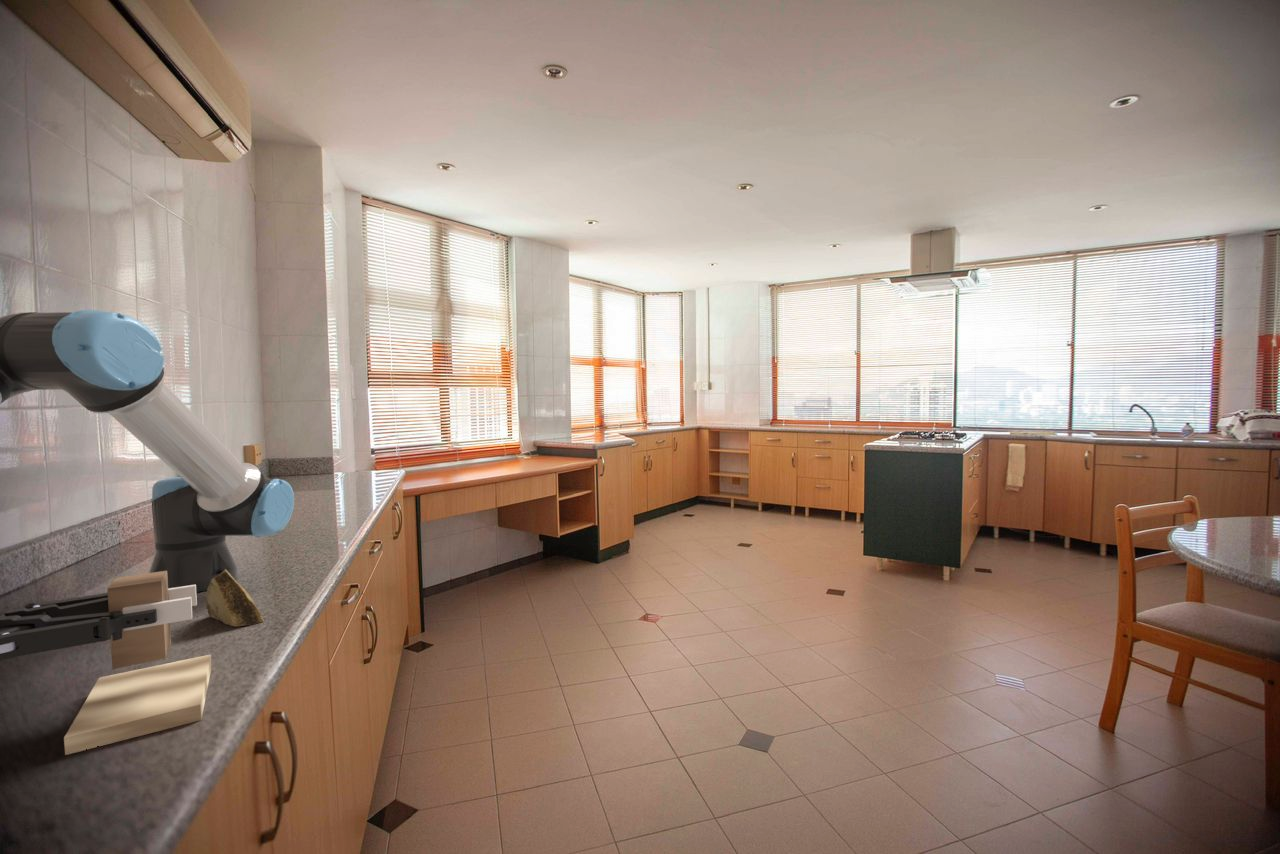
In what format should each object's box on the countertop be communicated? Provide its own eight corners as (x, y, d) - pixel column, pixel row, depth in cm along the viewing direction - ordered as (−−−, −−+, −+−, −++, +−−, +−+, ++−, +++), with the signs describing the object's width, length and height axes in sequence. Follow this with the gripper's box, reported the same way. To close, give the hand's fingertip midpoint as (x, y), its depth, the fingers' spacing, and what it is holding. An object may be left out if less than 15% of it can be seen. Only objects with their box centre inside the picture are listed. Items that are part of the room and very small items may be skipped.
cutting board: (100, 691, 76) (99, 677, 76) (211, 667, 83) (210, 654, 83) (65, 755, 63) (63, 737, 63) (201, 720, 70) (200, 704, 69)
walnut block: (121, 653, 73) (116, 577, 72) (171, 644, 76) (167, 570, 75) (112, 669, 69) (107, 588, 68) (165, 658, 72) (161, 580, 71)
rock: (188, 606, 101) (183, 616, 93) (222, 562, 104) (220, 568, 96) (249, 631, 106) (249, 643, 97) (279, 588, 109) (282, 596, 101)
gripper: (-37, 647, 70) (201, 607, 83) (-120, 716, 55) (187, 654, 68) (-41, 587, 69) (199, 557, 82) (-126, 640, 54) (184, 593, 67)
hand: (193, 601), depth 75 cm, fingers closed on walnut block, 5 cm apart
